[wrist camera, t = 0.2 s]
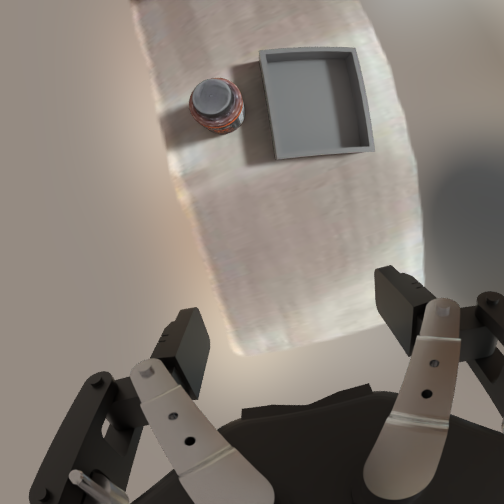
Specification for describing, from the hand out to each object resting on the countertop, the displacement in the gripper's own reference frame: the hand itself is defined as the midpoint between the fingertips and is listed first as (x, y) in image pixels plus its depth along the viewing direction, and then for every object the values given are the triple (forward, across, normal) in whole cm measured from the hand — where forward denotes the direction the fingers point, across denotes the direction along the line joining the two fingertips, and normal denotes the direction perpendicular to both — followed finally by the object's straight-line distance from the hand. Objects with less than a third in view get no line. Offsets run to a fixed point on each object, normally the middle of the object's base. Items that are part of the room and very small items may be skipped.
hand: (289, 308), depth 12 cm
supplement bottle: (+28, +3, -14) cm, 32 cm away
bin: (+28, -10, -13) cm, 32 cm away
